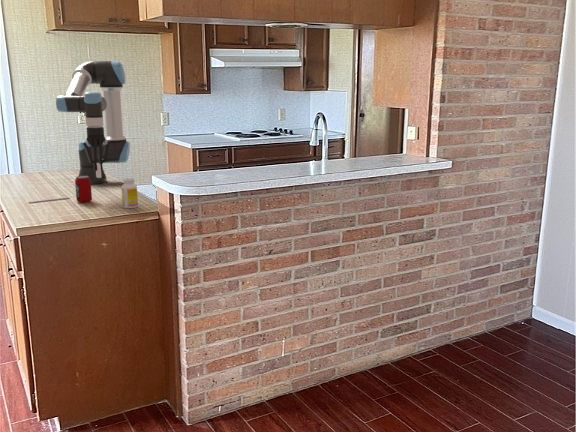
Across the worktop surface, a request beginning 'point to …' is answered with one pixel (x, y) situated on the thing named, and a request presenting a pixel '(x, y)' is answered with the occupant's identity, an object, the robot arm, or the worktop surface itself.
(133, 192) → the supplement bottle
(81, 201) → the beverage can
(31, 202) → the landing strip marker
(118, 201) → the worktop surface
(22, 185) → the worktop surface
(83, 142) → the robot arm
